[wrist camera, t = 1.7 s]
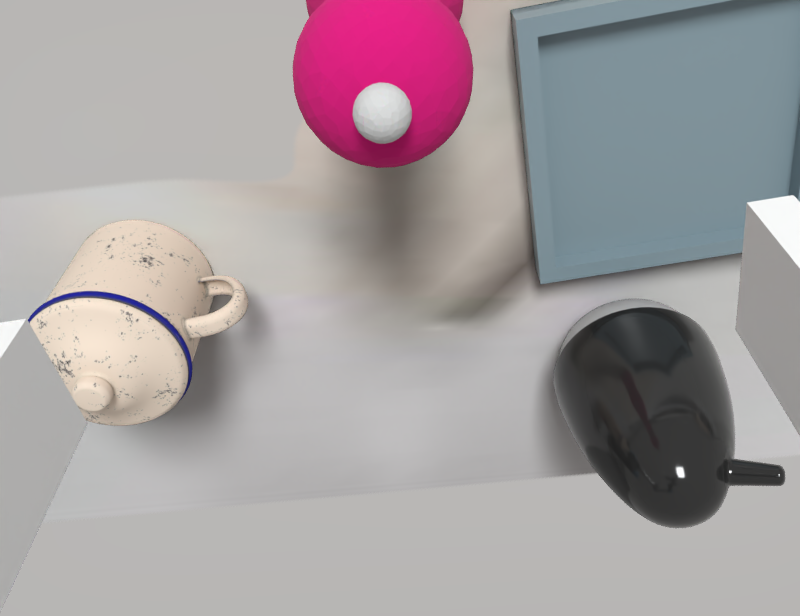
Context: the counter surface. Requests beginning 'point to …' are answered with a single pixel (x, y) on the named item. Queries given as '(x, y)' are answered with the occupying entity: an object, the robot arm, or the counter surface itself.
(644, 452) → the black rounded piece
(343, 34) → the pepper mill
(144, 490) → the counter surface
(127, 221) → the teacup with lid
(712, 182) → the tray
